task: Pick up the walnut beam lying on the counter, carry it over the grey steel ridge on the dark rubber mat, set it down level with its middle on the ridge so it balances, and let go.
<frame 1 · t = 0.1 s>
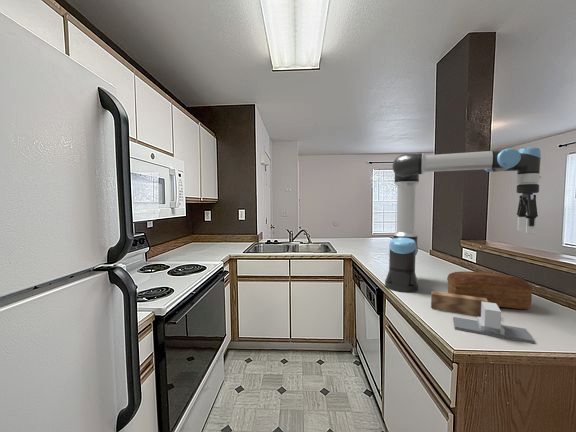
hand: (525, 232, 124), 28 cm above the counter, fingers open, 13 cm apart
walnut beam: (457, 311, 107), on the counter
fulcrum: (489, 330, 91), on the counter
bread: (486, 303, 116), on the counter
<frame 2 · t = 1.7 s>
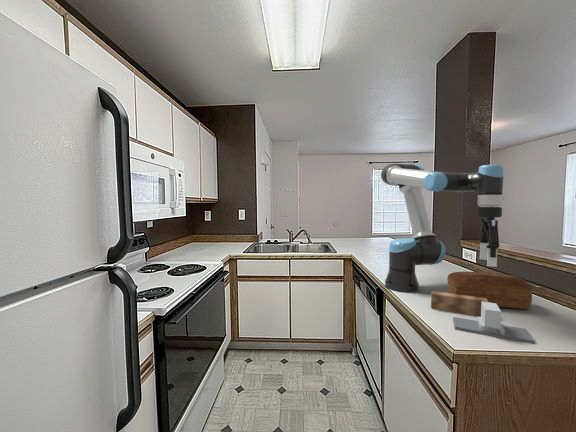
hand: (487, 262, 107), 18 cm above the counter, fingers open, 13 cm apart
nothing on the counter moved.
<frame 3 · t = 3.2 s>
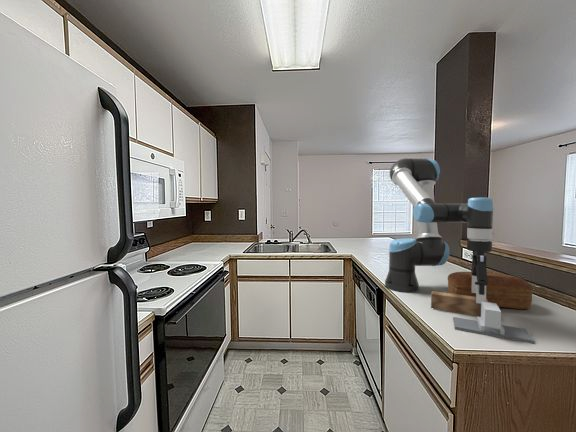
hand: (478, 298, 103), 6 cm above the counter, fingers open, 13 cm apart
bread: (486, 303, 116), on the counter, touching gripper
everything else where it was.
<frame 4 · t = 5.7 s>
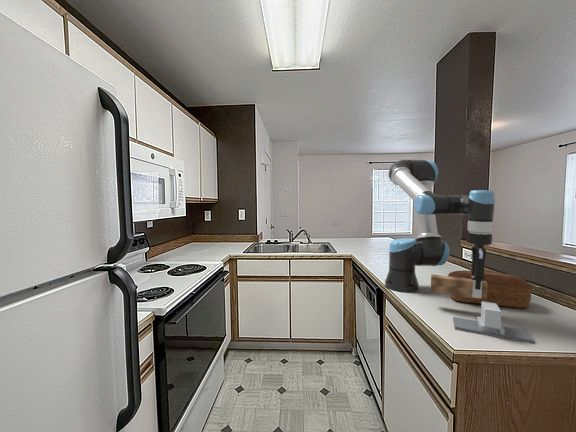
hand: (475, 295, 104), 7 cm above the counter, fingers closed on walnut beam, 4 cm apart
walnut beam: (457, 294, 107), point 6 cm above the counter, touching gripper
bread: (485, 302, 117), on the counter
everything else where it was.
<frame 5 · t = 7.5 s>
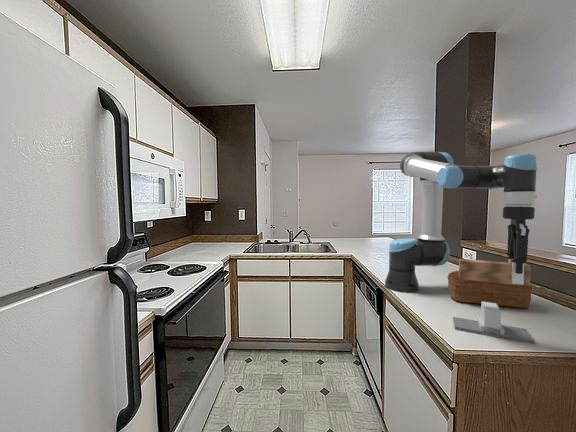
hand: (515, 281, 87), 17 cm above the counter, fingers closed on walnut beam, 4 cm apart
walnut beam: (492, 280, 90), point 16 cm above the counter, touching gripper
everything else where it was.
when the fingers open (9 cm above the counter, at t = 9.4 s): walnut beam stays where it is, resting on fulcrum.
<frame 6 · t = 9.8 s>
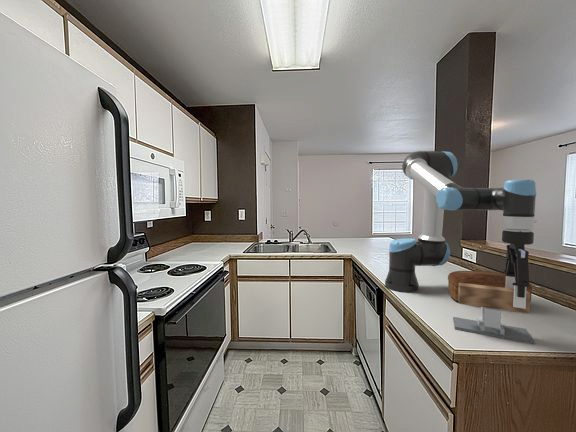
hand: (514, 301, 87), 10 cm above the counter, fingers open, 10 cm apart
walnut beam: (491, 306, 90), point 8 cm above the counter, touching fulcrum
everything else where it was.
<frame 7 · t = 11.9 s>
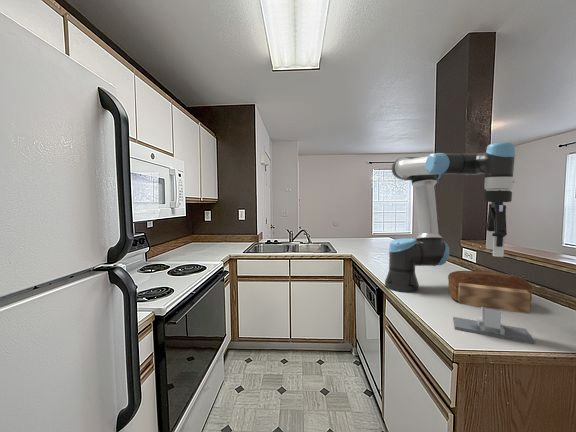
hand: (494, 252, 96), 24 cm above the counter, fingers open, 13 cm apart
nothing on the counter moved.
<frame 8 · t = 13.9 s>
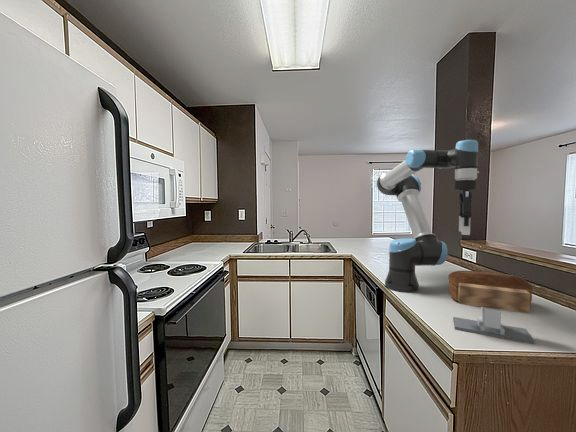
hand: (464, 233, 113), 29 cm above the counter, fingers open, 13 cm apart
nothing on the counter moved.
at the end: walnut beam 0.2 cm off-centre on the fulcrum, point 7.8 cm above the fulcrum's base; walnut beam tilted 0°; the gripper is holding nothing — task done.
